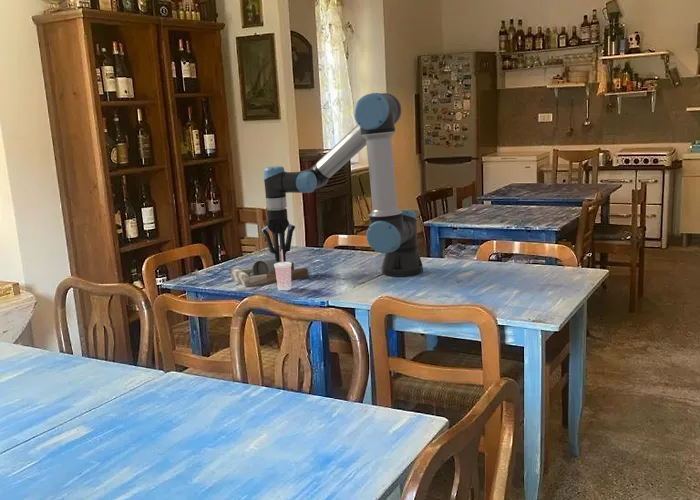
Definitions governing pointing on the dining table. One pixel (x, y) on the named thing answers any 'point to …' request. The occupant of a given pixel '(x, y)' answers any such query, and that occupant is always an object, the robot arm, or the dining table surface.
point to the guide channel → (263, 276)
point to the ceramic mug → (263, 267)
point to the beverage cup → (283, 274)
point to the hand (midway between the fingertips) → (281, 270)
